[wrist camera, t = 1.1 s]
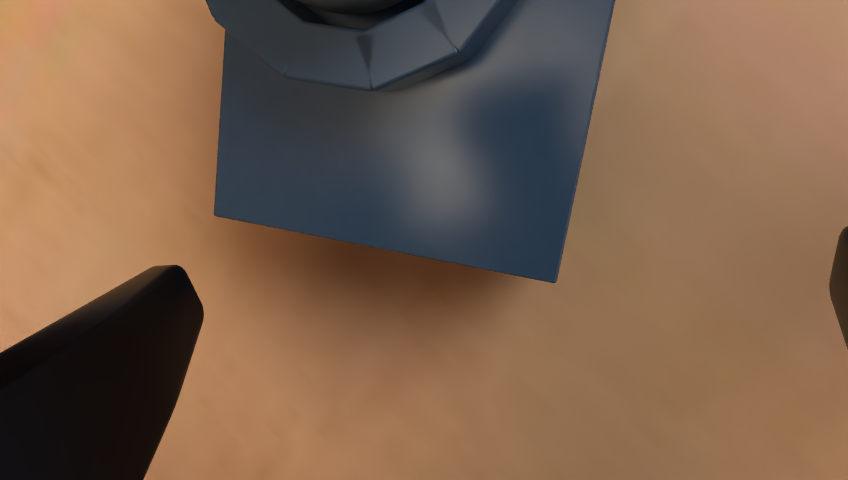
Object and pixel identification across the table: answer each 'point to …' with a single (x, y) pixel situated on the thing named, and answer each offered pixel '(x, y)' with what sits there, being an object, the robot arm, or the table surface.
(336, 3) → the knob
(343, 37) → the push button box
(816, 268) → the table surface
